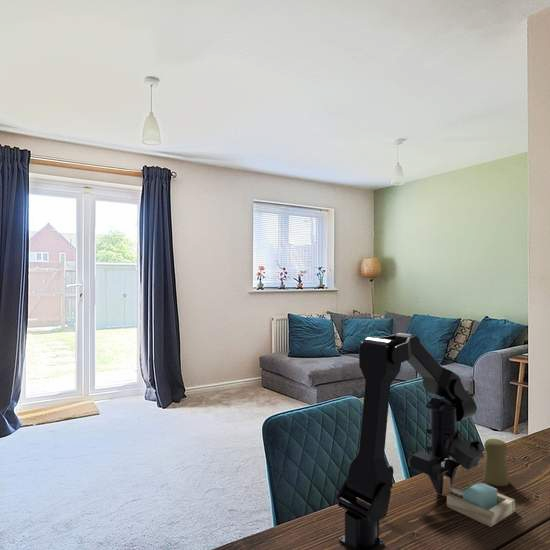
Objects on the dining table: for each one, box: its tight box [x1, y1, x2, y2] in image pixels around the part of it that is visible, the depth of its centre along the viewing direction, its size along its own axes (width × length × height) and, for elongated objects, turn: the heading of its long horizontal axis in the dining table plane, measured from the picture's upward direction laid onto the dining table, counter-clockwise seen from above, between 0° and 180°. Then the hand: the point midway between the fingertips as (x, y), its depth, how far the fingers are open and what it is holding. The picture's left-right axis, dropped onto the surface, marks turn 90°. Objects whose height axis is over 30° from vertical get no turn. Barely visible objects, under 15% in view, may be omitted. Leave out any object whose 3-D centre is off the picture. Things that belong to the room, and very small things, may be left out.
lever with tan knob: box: [438, 474, 498, 510], centre depth 103 cm, size 7×12×5 cm, turn 36°
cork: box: [482, 438, 510, 487], centre depth 113 cm, size 6×6×11 cm
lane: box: [446, 482, 516, 528], centre depth 99 cm, size 10×10×4 cm
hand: (443, 491), depth 106 cm, fingers closed on lever with tan knob, 3 cm apart
